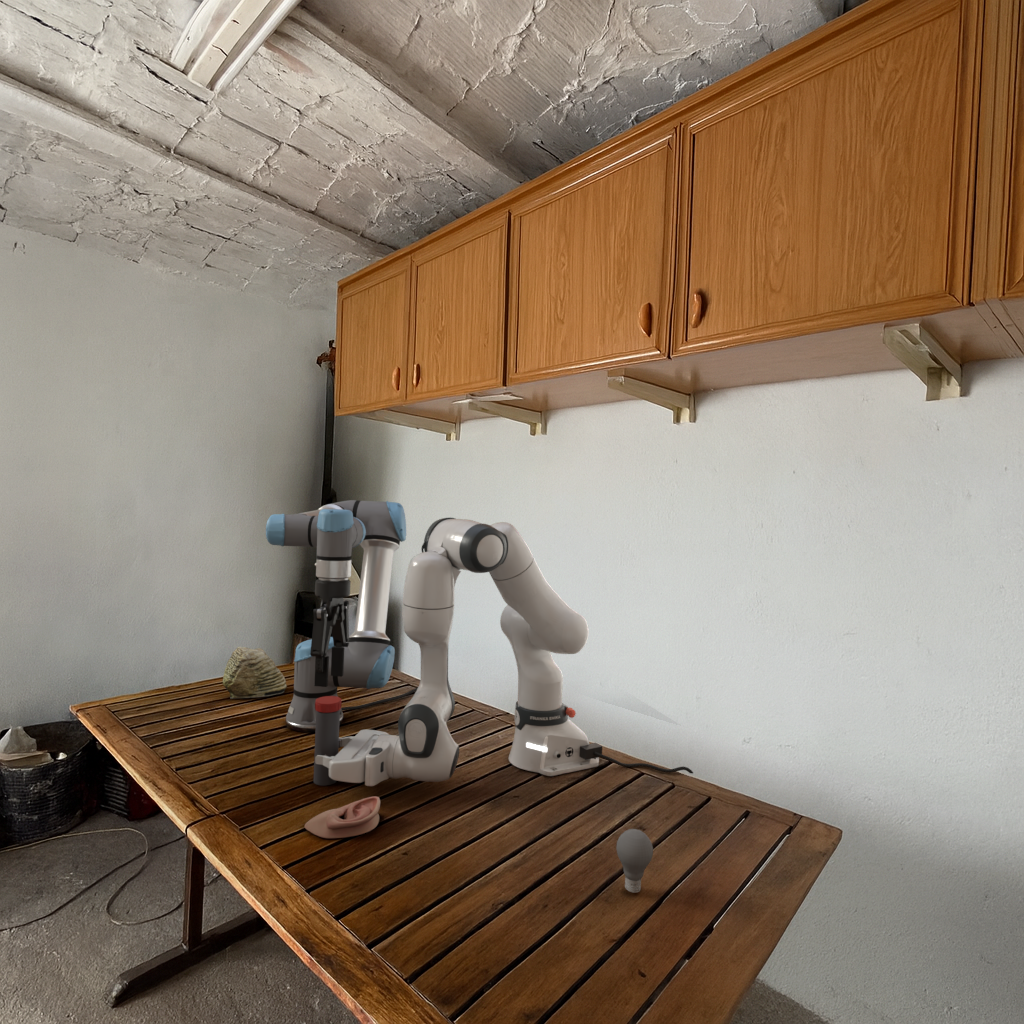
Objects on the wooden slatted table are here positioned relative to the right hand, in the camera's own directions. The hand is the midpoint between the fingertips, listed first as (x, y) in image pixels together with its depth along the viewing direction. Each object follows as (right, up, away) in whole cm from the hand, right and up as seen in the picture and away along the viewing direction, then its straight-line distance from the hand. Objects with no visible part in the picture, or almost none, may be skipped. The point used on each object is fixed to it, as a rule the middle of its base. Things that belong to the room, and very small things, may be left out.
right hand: (325, 750), depth 141 cm
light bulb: (+62, -10, -36) cm, 72 cm away
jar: (0, -7, 0) cm, 7 cm away
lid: (+1, +11, 0) cm, 11 cm away
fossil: (-39, -4, +57) cm, 69 cm away
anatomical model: (+9, -8, -18) cm, 22 cm away
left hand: (+1, +16, 0) cm, 16 cm away
